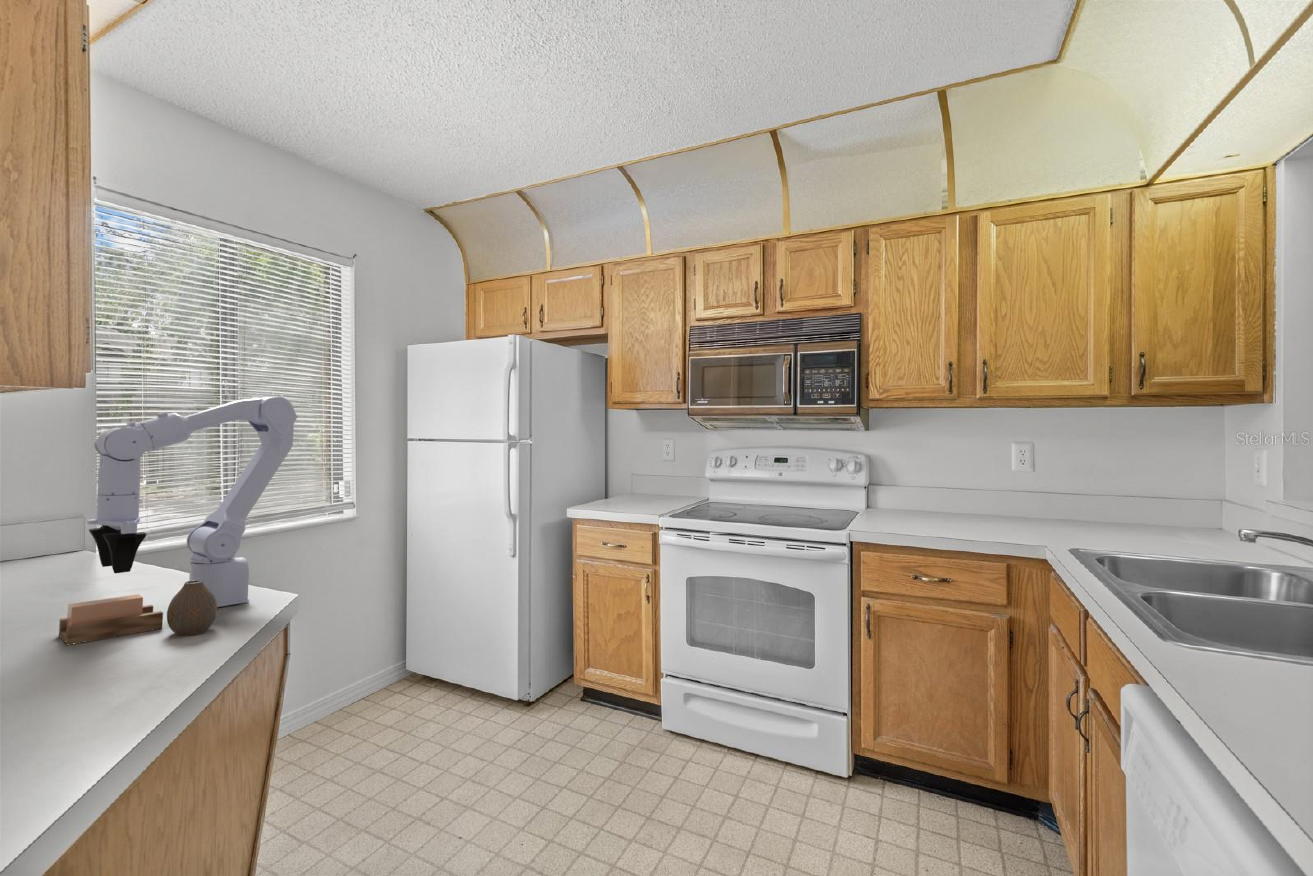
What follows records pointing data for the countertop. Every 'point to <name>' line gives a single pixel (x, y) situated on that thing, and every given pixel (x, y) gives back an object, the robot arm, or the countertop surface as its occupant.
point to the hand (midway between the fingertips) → (115, 569)
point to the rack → (111, 626)
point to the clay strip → (104, 609)
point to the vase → (192, 609)
